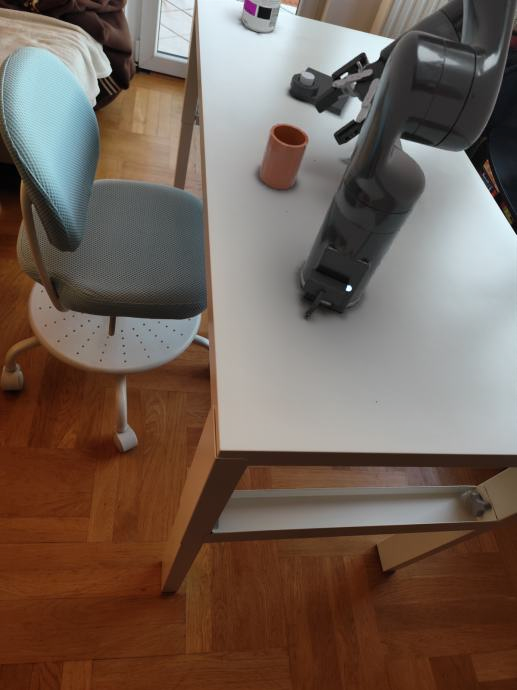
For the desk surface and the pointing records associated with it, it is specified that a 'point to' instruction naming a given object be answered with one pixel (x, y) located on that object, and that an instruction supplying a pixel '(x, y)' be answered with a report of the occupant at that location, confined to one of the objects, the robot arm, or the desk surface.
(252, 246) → the desk surface
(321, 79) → the scale
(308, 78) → the button
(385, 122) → the robot arm
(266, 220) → the desk surface
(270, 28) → the supplement can
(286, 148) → the terracotta flower pot
